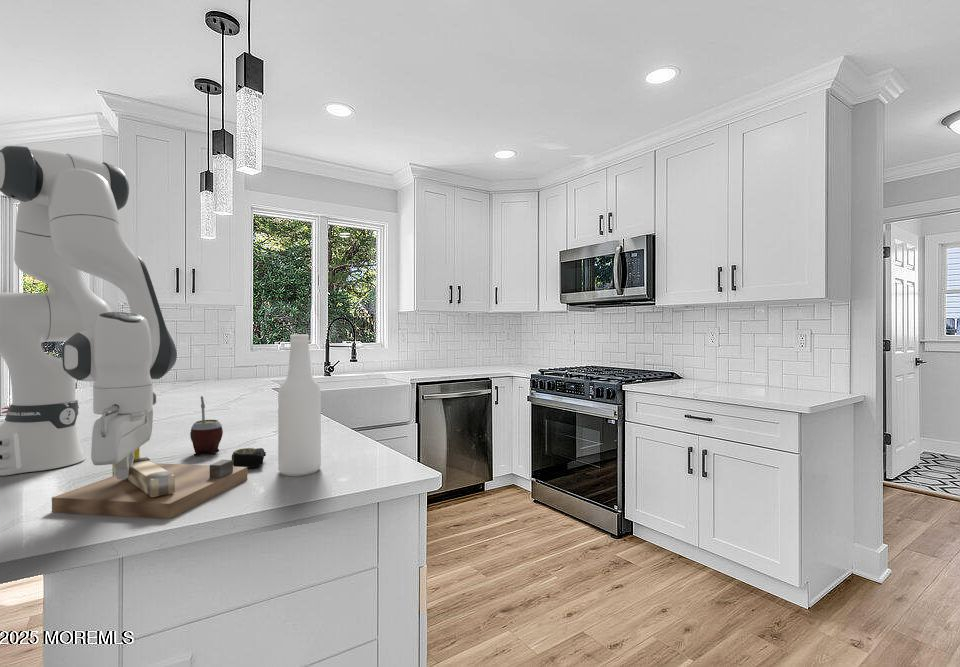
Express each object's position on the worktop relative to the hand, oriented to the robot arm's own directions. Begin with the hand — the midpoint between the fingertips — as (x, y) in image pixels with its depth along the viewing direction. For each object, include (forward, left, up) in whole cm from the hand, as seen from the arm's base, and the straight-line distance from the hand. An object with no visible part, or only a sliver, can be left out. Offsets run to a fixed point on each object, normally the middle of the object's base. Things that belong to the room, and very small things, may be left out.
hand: (124, 477), depth 92 cm
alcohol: (+22, +22, -4) cm, 32 cm away
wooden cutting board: (+3, +4, -4) cm, 7 cm away
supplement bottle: (-13, +14, -4) cm, 19 cm away
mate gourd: (-8, +33, -4) cm, 34 cm away
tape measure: (+10, +25, -5) cm, 27 cm away
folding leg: (+4, +1, -1) cm, 4 cm away
